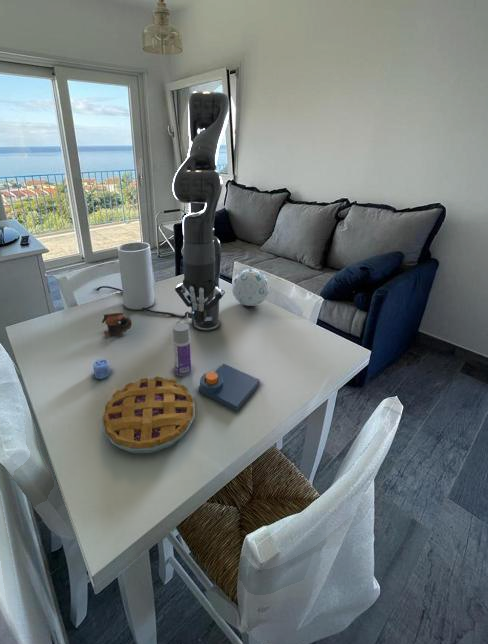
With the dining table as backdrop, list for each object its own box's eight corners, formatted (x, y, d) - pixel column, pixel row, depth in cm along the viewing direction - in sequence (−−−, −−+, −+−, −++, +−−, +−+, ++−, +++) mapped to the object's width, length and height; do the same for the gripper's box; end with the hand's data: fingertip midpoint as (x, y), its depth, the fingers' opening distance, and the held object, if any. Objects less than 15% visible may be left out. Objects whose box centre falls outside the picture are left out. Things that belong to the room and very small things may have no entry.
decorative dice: (94, 371, 94) (93, 360, 92) (109, 368, 95) (107, 357, 93) (95, 380, 90) (93, 369, 89) (110, 377, 91) (108, 365, 90)
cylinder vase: (126, 297, 139) (119, 242, 130) (155, 296, 140) (150, 241, 131) (122, 311, 128) (115, 252, 118) (153, 309, 129) (149, 250, 119)
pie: (203, 450, 69) (203, 433, 67) (98, 470, 65) (95, 453, 63) (188, 382, 89) (187, 367, 87) (107, 394, 85) (104, 379, 83)
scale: (195, 391, 86) (195, 381, 84) (221, 367, 95) (222, 357, 94) (235, 413, 79) (235, 402, 77) (259, 384, 88) (260, 374, 87)
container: (193, 367, 95) (191, 324, 89) (187, 377, 91) (185, 332, 85) (179, 364, 96) (176, 321, 91) (172, 374, 92) (169, 329, 87)
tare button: (203, 381, 85) (203, 376, 84) (210, 375, 87) (210, 370, 86) (213, 386, 83) (213, 381, 82) (219, 379, 85) (219, 374, 85)
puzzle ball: (252, 293, 142) (254, 261, 137) (275, 306, 130) (278, 272, 125) (224, 301, 135) (224, 268, 130) (245, 316, 123) (247, 280, 118)
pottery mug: (96, 338, 110) (95, 315, 112) (113, 336, 119) (112, 314, 120) (126, 335, 106) (124, 311, 108) (141, 333, 115) (139, 310, 117)
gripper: (230, 256, 76) (229, 319, 83) (180, 250, 80) (182, 310, 87) (220, 266, 70) (220, 334, 76) (166, 260, 74) (170, 324, 80)
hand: (200, 321), depth 82 cm, fingers closed
